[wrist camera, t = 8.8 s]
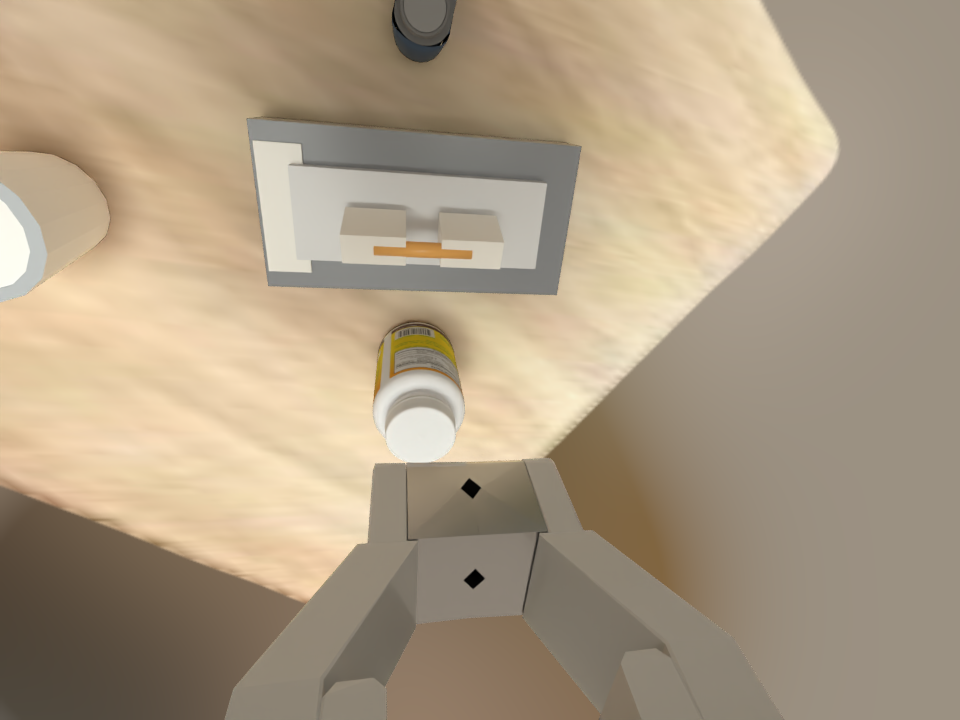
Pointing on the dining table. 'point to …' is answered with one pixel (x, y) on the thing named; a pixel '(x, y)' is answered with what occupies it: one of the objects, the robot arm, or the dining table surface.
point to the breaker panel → (408, 202)
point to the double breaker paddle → (385, 242)
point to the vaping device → (422, 27)
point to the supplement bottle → (417, 393)
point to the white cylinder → (44, 218)
